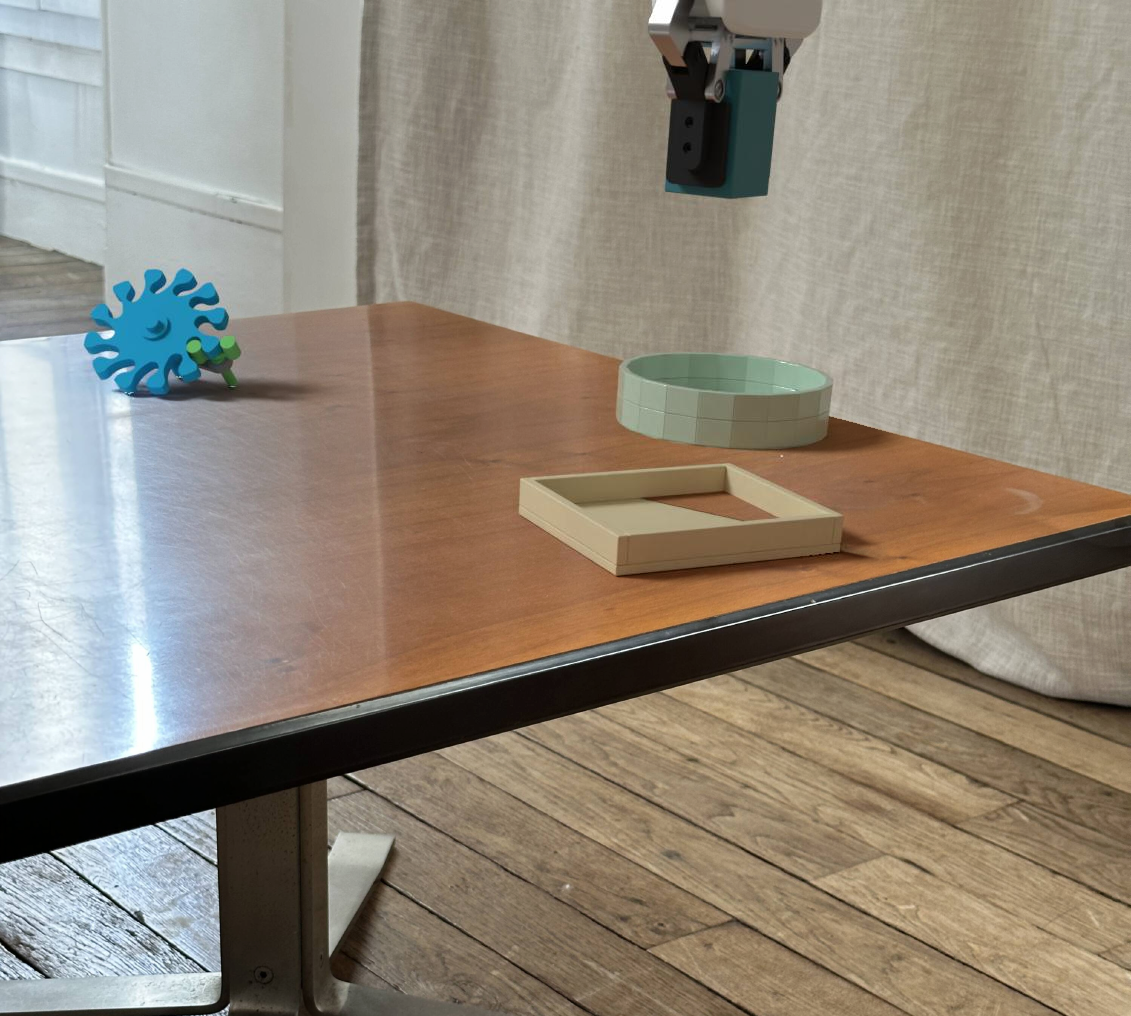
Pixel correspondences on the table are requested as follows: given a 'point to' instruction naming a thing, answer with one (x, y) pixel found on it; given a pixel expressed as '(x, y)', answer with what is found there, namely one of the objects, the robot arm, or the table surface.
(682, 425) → the bowl
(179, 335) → the gear
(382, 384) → the table surface
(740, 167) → the block
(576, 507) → the tray
